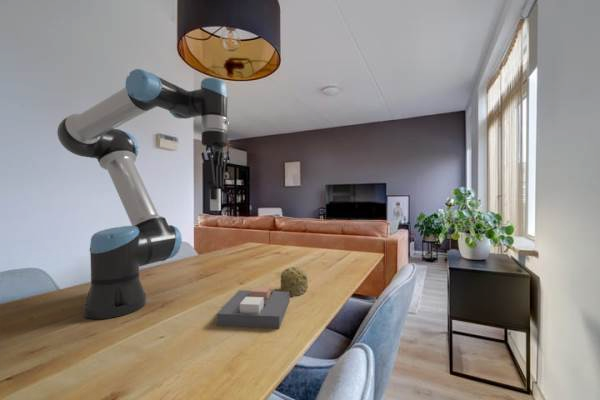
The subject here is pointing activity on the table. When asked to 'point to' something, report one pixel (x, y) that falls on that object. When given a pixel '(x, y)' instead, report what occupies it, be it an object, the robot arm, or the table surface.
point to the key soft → (252, 305)
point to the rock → (294, 281)
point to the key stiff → (261, 292)
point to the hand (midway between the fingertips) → (215, 210)
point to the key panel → (266, 319)
